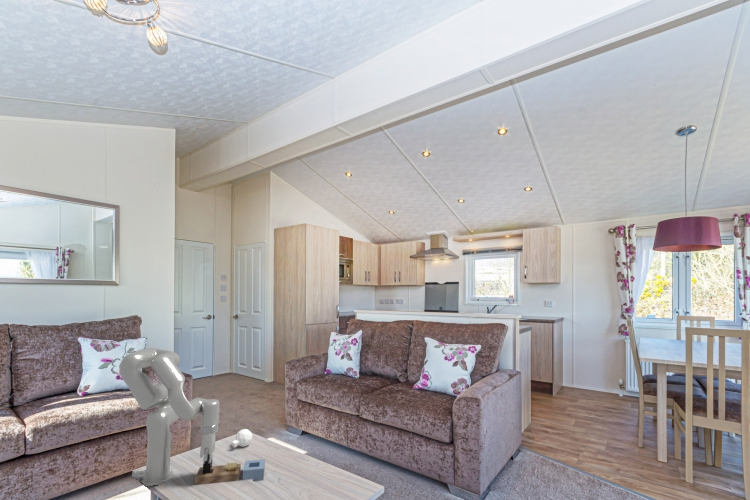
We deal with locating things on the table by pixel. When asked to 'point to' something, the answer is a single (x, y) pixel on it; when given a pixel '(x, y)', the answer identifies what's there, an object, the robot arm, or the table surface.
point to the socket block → (217, 475)
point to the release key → (231, 466)
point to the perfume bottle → (242, 438)
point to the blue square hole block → (254, 470)
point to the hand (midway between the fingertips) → (207, 469)
